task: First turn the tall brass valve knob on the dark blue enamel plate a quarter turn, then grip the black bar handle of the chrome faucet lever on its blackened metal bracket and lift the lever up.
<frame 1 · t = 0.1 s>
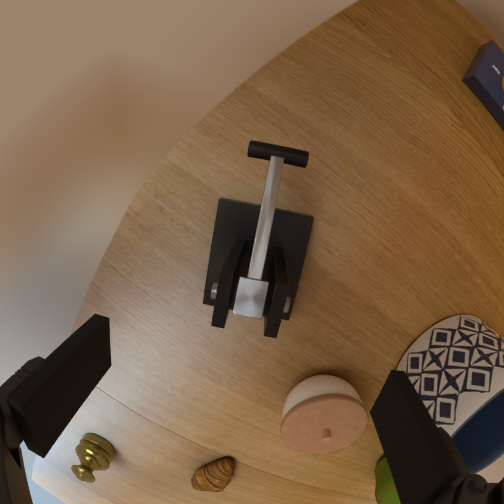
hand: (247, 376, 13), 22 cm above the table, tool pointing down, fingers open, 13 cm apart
gold metal turned piece: (99, 443, 46), on the table
trinket box: (317, 390, 39), on the table
apple: (398, 456, 42), on the table
valve plate: (499, 93, 27), on the table
croissant: (213, 469, 45), on the table
faucet lever: (264, 226, 24), point 9 cm above the table, hinge at -20.0°
planter: (442, 365, 37), on the table
faucet bracket: (256, 259, 34), on the table
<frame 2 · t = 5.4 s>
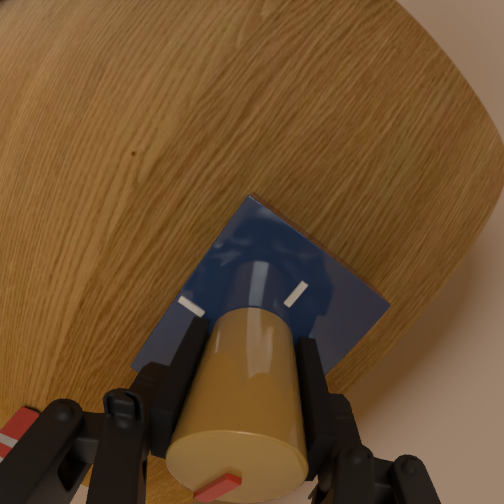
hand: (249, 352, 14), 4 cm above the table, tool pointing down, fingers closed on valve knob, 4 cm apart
valve knob: (244, 398, 11), point 7 cm above the table, hinge at 0.0°, touching gripper
valve plate: (253, 319, 18), on the table
beverage can: (43, 424, 23), on the table
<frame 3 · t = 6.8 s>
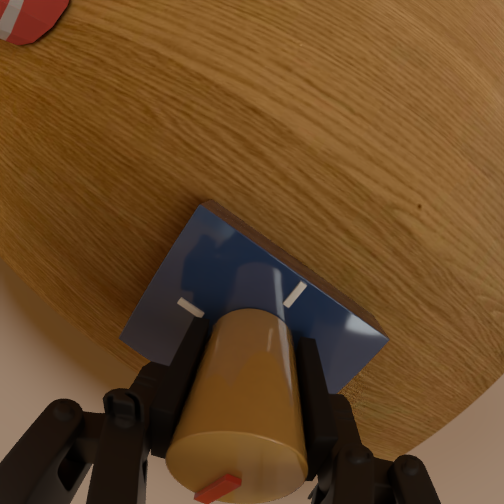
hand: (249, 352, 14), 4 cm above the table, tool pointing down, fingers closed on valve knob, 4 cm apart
valve knob: (244, 399, 11), point 7 cm above the table, hinge at 90.0°, touching gripper
valve plate: (253, 320, 18), on the table
beverage can: (46, 14, 13), on the table
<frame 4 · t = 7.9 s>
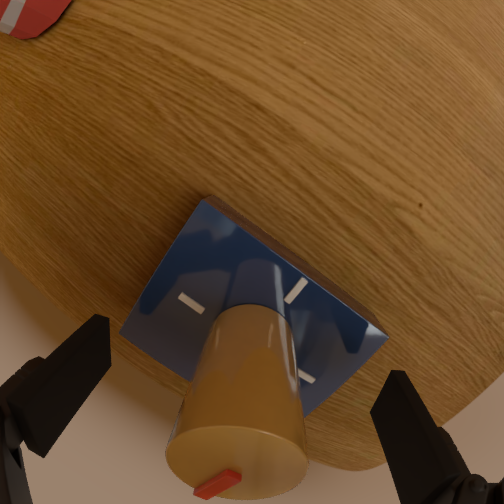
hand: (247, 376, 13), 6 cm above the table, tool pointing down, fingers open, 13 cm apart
valve knob: (244, 394, 11), point 7 cm above the table, hinge at 89.9°
valve plate: (253, 316, 18), on the table
beverage can: (49, 8, 13), on the table
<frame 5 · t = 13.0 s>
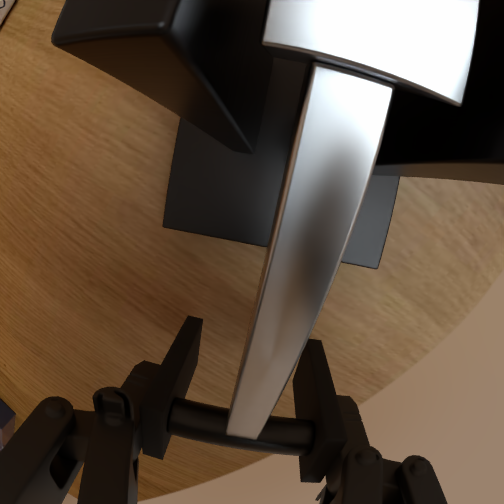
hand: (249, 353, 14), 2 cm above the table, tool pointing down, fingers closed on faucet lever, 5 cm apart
faucet lever: (283, 308, 6), point 9 cm above the table, hinge at -20.0°, touching gripper
faucet bracket: (296, 118, 13), on the table
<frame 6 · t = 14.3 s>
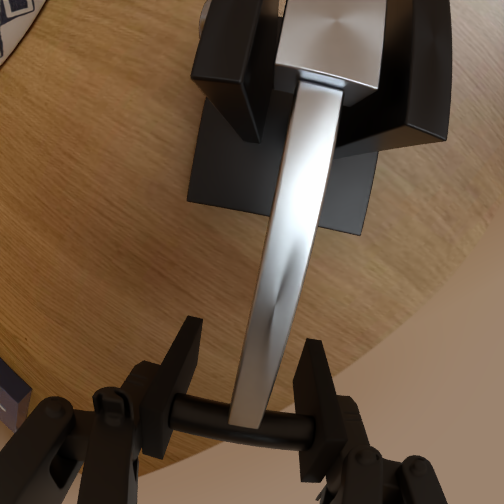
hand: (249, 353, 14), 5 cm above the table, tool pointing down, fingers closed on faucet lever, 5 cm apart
faucet lever: (284, 258, 8), point 11 cm above the table, hinge at -2.6°, touching gripper
faucet bracket: (293, 116, 16), on the table
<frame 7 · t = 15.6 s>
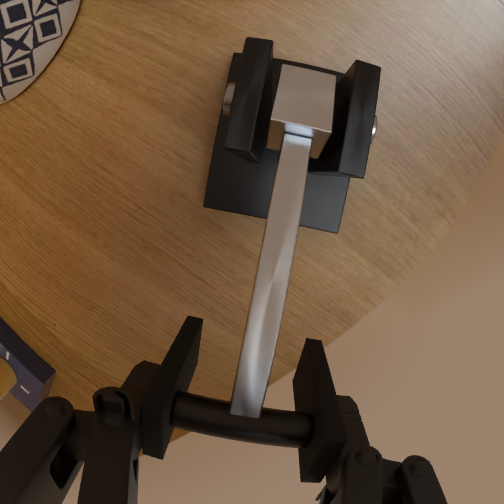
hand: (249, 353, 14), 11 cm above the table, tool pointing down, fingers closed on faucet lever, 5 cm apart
valve plate: (18, 359, 30), on the table
faucet lever: (276, 251, 10), point 13 cm above the table, hinge at 21.3°, touching gripper
planter: (24, 33, 19), on the table
faucet bracket: (286, 140, 22), on the table
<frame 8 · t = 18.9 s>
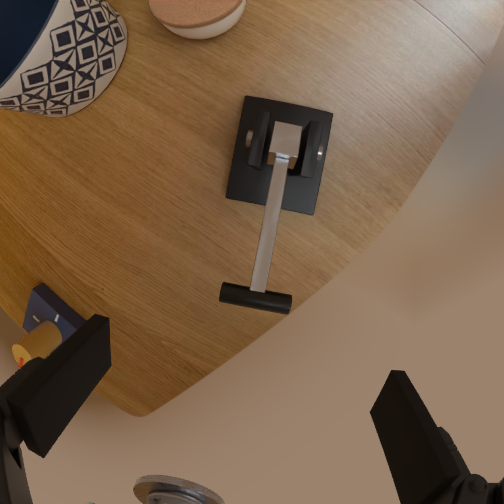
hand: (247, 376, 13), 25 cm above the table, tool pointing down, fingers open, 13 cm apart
valve knob: (37, 345, 34), point 7 cm above the table, hinge at 89.9°
trinket box: (208, 18, 30), on the table
valve plate: (61, 324, 41), on the table
faucet lever: (272, 212, 22), point 13 cm above the table, hinge at 21.5°
planter: (76, 59, 31), on the table
faucet bracket: (279, 154, 34), on the table
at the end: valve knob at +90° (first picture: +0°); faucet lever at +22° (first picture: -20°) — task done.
